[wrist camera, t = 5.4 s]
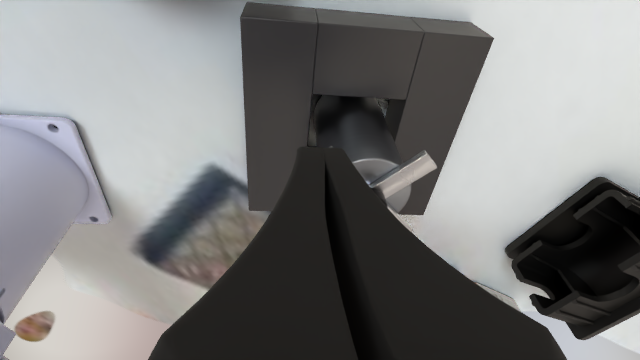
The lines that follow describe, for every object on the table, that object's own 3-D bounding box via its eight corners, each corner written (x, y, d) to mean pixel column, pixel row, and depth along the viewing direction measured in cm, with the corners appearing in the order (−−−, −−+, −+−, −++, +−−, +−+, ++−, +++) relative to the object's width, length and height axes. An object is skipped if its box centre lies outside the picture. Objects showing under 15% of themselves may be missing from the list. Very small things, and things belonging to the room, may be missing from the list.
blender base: (252, 184, 23) (248, 211, 21) (246, 1, 16) (239, 15, 14) (412, 189, 24) (423, 215, 22) (471, 22, 17) (494, 38, 15)
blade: (301, 147, 21) (306, 249, 15) (307, 71, 18) (315, 159, 12) (378, 151, 22) (413, 251, 16) (396, 77, 19) (448, 165, 12)
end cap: (551, 273, 32) (602, 347, 26) (497, 253, 29) (541, 330, 24) (660, 201, 26) (751, 276, 21) (605, 169, 24) (693, 245, 19)
